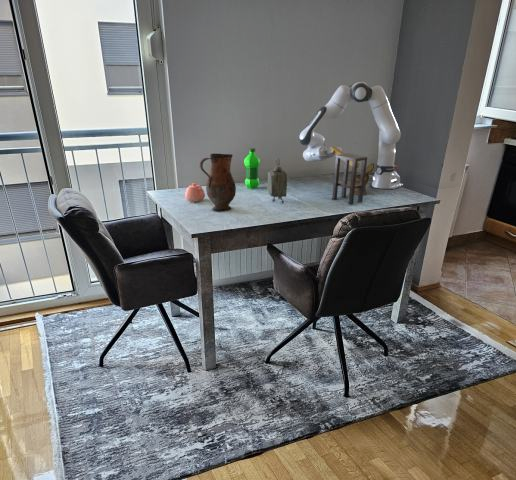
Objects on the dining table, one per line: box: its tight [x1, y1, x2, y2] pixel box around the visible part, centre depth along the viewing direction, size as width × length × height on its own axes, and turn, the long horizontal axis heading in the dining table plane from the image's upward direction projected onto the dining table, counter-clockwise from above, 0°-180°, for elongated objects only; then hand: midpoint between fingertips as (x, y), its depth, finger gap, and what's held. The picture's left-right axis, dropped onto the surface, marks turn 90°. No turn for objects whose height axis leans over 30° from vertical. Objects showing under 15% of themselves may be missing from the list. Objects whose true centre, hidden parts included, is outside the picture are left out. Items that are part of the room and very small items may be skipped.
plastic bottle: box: [243, 147, 261, 190], centre depth 313 cm, size 10×10×25 cm
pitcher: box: [199, 153, 237, 212], centre depth 264 cm, size 17×21×30 cm
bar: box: [330, 146, 360, 169], centre depth 294 cm, size 3×24×3 cm, turn 35°
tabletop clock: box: [267, 157, 288, 204], centre depth 282 cm, size 14×9×25 cm, turn 9°
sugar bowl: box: [184, 182, 206, 203], centre depth 287 cm, size 12×14×10 cm
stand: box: [332, 152, 368, 205], centre depth 284 cm, size 10×16×26 cm, turn 37°
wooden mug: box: [354, 162, 375, 196], centre depth 303 cm, size 9×14×18 cm, turn 115°
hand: (336, 151), depth 298 cm, fingers closed on bar, 3 cm apart
